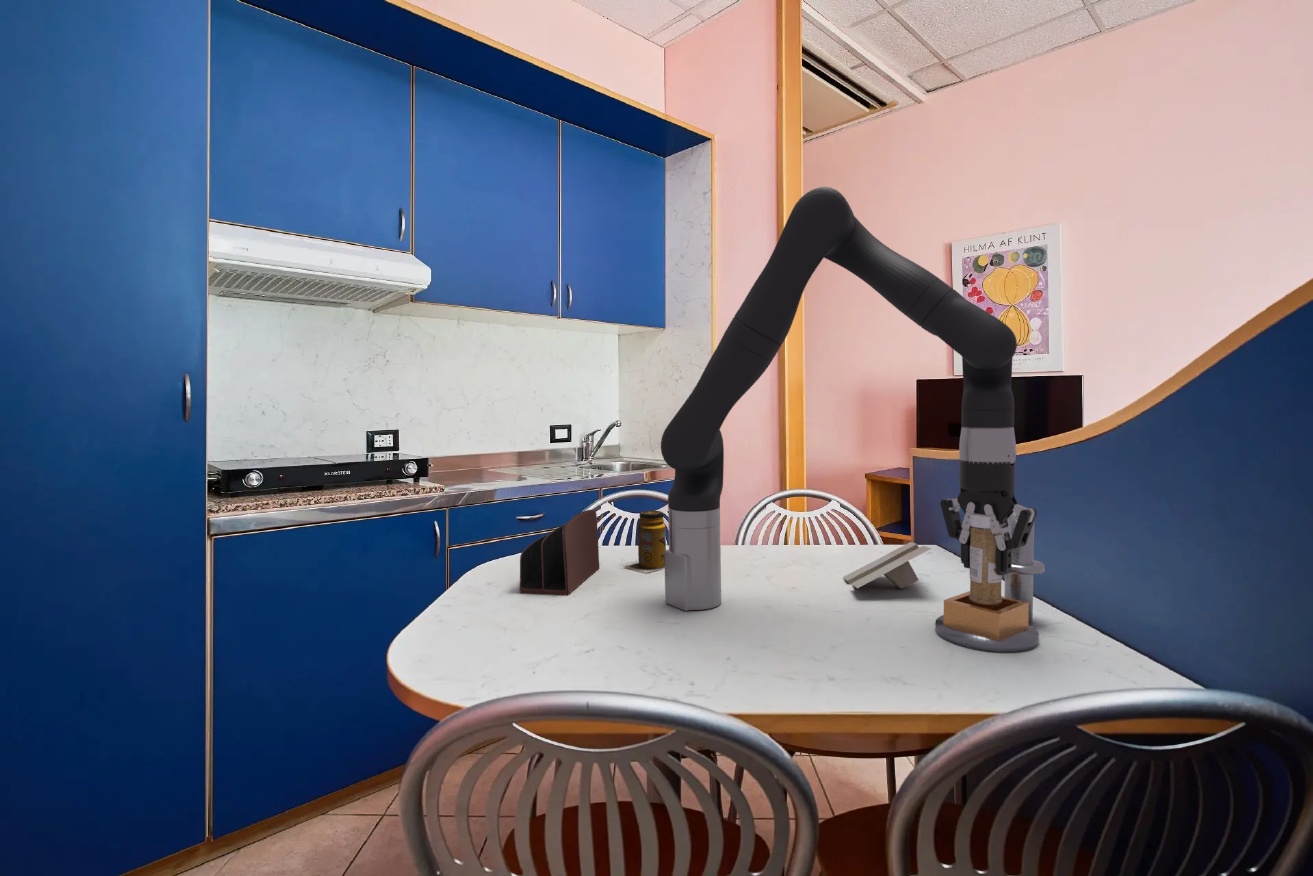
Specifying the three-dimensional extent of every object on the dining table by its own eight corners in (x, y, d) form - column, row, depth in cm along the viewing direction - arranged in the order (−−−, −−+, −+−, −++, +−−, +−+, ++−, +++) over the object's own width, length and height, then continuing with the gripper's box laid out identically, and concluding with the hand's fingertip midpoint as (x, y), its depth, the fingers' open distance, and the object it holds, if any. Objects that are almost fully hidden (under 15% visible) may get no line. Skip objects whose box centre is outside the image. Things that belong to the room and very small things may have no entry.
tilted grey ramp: (891, 626, 117) (955, 569, 116) (855, 588, 118) (919, 531, 118) (872, 611, 133) (928, 561, 133) (841, 577, 134) (897, 528, 134)
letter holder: (599, 569, 144) (598, 505, 144) (568, 596, 125) (566, 522, 124) (556, 567, 147) (554, 504, 146) (519, 594, 127) (516, 521, 126)
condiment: (674, 566, 145) (673, 511, 145) (646, 574, 140) (645, 517, 139) (651, 560, 151) (650, 508, 150) (623, 568, 145) (622, 513, 144)
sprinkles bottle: (1004, 607, 98) (1006, 516, 97) (970, 605, 99) (971, 515, 98) (999, 598, 102) (1000, 511, 101) (966, 595, 103) (967, 510, 103)
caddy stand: (1008, 660, 91) (1010, 530, 90) (916, 632, 102) (917, 516, 101) (1075, 628, 103) (1078, 512, 102) (986, 606, 114) (987, 502, 113)
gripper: (928, 456, 103) (927, 565, 104) (1023, 462, 91) (1022, 585, 92) (955, 453, 107) (954, 558, 108) (1049, 458, 95) (1047, 576, 97)
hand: (985, 570), depth 100 cm, fingers closed on sprinkles bottle, 4 cm apart
